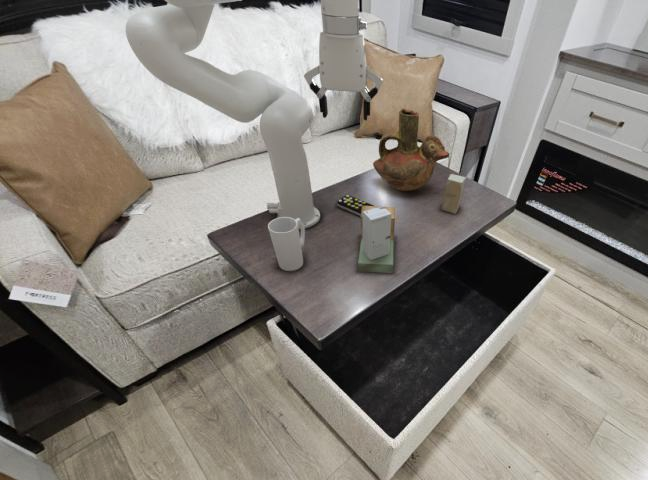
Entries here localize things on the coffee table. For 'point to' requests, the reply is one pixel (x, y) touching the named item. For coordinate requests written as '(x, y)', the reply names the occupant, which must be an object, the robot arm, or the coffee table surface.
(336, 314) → the coffee table surface
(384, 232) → the white medicine box
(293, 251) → the mug
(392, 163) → the ceramic vessel
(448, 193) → the box
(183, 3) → the robot arm
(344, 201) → the remote control
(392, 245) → the wood and green block
